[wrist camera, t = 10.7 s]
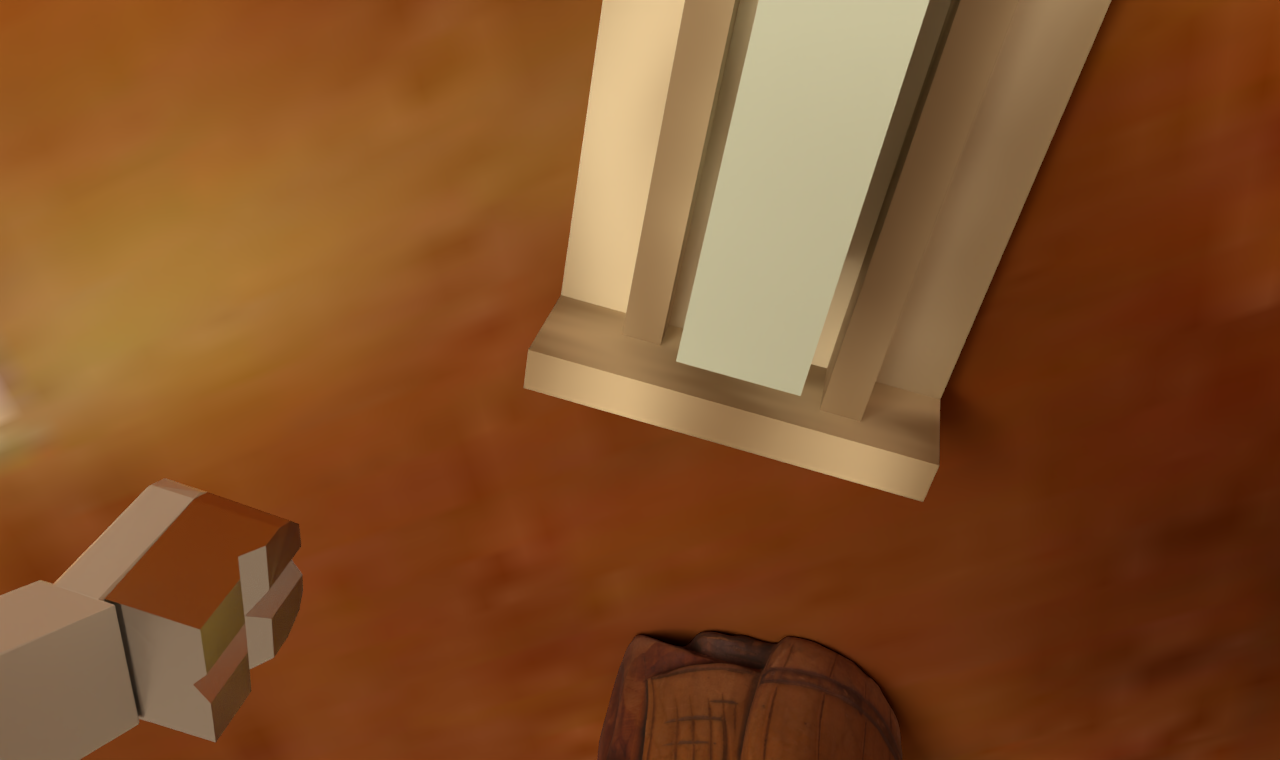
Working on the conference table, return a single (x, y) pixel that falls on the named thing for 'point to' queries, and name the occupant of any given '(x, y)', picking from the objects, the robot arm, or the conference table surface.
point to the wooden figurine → (745, 703)
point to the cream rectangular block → (794, 181)
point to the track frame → (877, 256)
